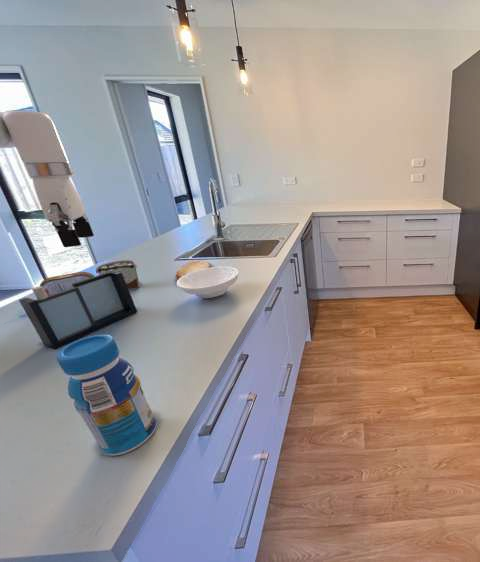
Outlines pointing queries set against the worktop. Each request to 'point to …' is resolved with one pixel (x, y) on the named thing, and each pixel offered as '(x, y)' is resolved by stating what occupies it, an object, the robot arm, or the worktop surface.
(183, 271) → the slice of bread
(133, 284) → the food container
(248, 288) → the worktop surface
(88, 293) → the window frame
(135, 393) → the beverage bottle
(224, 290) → the bowl
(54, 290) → the tin
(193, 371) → the worktop surface
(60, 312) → the sliding pane
